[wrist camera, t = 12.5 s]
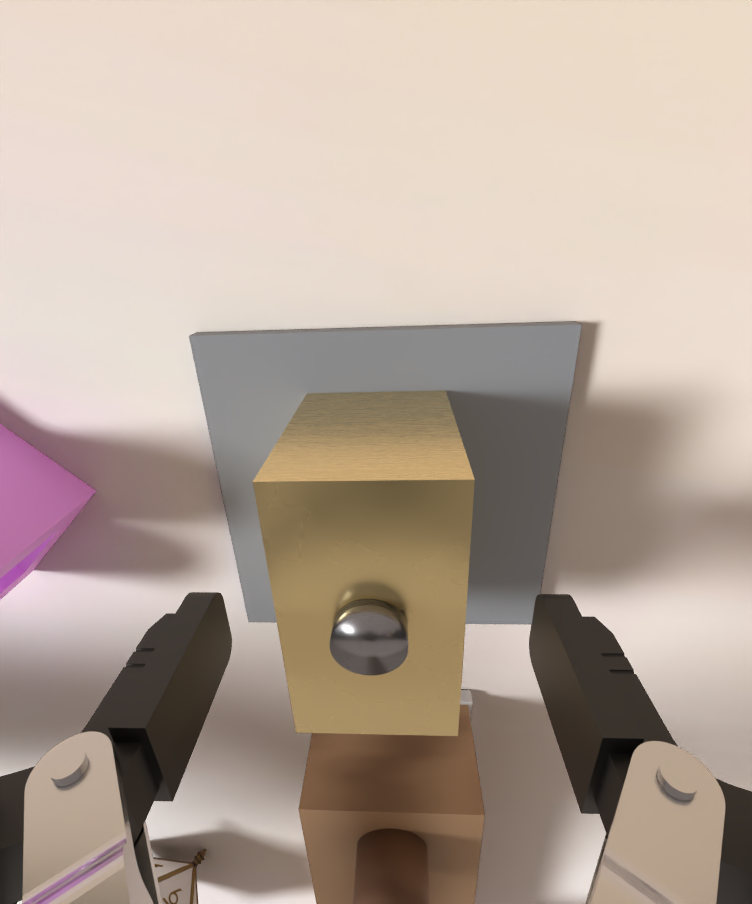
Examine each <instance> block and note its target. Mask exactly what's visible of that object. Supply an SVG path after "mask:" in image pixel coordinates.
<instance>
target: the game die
mask: <svg viewBox="0 0 752 904" xmlns="http://www.w3.org/2000/svg"><path fill="white" fill-rule="evenodd" d="M205 852H206V849H205V850H203V851H201V852H198V854H197V856H195V859H194V861H193V862H185V861H177V860H170V859H163V858H156V857H153V859H154V864H155V869H156V874H157V879H158V884H159V889H160V895H161V900H162V904H198V893H197V879H196V866H197V865H198V864H199V863H200V864H201V861H202V860H204V856H205Z"/></svg>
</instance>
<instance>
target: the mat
mask: <svg viewBox="0 0 752 904" xmlns="http://www.w3.org/2000/svg"><path fill="white" fill-rule="evenodd" d="M581 326H582V324H579V323H577V322H575V321H571V322H536V323H502V324H468V325H434V326H400V327H366V328H332V329H297V330H263V331H229V332H197V333H194V334H192V335H190V336H189V338H190V343H191V348H192V353H193V358H194V362H195V367H196V372H197V377H198V381H199V386H200V391H201V396H202V401H203V405H204V410H205V415H206V420H207V425H208V429H209V434H210V439H211V444H212V449H213V453H214V458H215V463H216V468H217V472H218V477H219V482H220V487H221V492H222V496H223V501H224V506H225V511H226V516H227V520H228V525H229V530H230V535H231V540H232V544H233V549H234V554H235V559H236V563H237V568H238V573H239V578H240V583H241V587H242V592H243V597H244V602H245V607H246V611H247V616H248V621H249V622H277V620H276V614H275V608H274V602H273V597H272V591H271V585H270V579H269V573H268V568H267V562H266V556H265V550H264V545H263V539H262V533H261V527H260V521H259V516H258V510H257V504H256V498H255V493H254V487H253V480H254V479H255V477H256V475H257V474H258V472H259V471H260V469H261V467H262V466H263V464H264V462H265V461H266V459H267V458H268V456H269V454H270V453H271V451H272V449H273V448H274V446H275V444H276V443H277V441H278V440H279V438H280V436H281V435H282V433H283V431H284V430H285V428H286V427H287V425H288V423H289V422H290V420H291V418H292V417H293V415H294V414H295V412H296V410H297V409H298V407H299V405H300V404H301V402H302V400H303V399H304V397H305V396H306V394H307V393H345V392H392V391H439V390H446V393H447V396H448V399H449V402H450V405H451V408H452V411H453V415H454V418H455V421H456V424H457V427H458V430H459V433H460V436H461V439H462V442H463V445H464V448H465V451H466V454H467V457H468V460H469V464H470V467H471V470H472V473H473V476H474V479H475V483H474V498H473V514H472V529H471V544H470V560H469V575H468V591H467V606H466V621H465V624H532V618H533V612H534V605H535V600H536V597H537V595H539V594H540V592H541V586H542V579H543V573H544V566H545V560H546V553H547V547H548V540H549V534H550V528H551V521H552V515H553V508H554V502H555V495H556V489H557V482H558V476H559V469H560V463H561V456H562V450H563V443H564V437H565V430H566V424H567V417H568V411H569V404H570V398H571V391H572V385H573V378H574V372H575V365H576V359H577V352H578V346H579V339H580V333H581Z"/></svg>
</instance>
